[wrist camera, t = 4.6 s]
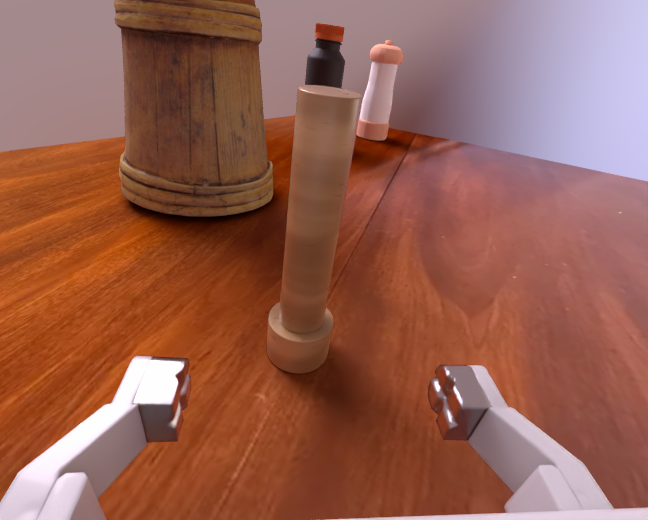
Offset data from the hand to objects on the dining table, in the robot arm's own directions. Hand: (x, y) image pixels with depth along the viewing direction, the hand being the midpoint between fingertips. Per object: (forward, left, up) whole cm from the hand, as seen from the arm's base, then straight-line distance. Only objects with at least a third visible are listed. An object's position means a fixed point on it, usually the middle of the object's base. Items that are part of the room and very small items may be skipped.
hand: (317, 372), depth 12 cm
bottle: (+59, +29, -10) cm, 66 cm away
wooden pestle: (+9, +5, -10) cm, 14 cm away
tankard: (+28, +30, -10) cm, 42 cm away
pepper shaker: (+75, +23, -10) cm, 79 cm away
